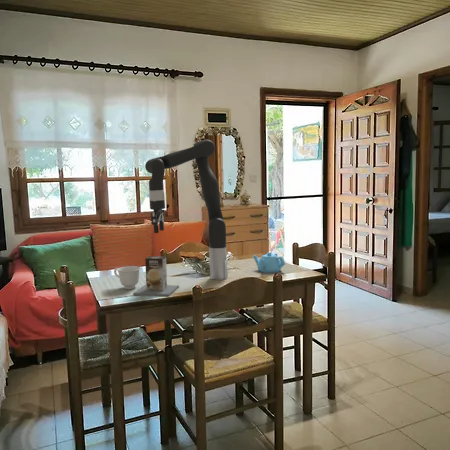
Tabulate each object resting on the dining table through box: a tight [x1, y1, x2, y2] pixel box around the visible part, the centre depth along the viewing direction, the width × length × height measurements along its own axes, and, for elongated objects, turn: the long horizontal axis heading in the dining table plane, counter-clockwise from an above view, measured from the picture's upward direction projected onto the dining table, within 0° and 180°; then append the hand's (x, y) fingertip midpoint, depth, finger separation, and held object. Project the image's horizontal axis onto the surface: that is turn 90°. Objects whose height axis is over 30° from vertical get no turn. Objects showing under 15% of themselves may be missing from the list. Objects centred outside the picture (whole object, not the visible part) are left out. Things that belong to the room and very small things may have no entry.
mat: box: [132, 284, 180, 297], centre depth 212 cm, size 18×16×1 cm
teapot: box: [253, 251, 286, 274], centre depth 251 cm, size 15×15×11 cm
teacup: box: [113, 265, 142, 290], centre depth 220 cm, size 12×15×10 cm
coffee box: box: [144, 255, 168, 291], centre depth 211 cm, size 9×6×16 cm
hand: (159, 231), depth 215 cm, fingers open, 8 cm apart
